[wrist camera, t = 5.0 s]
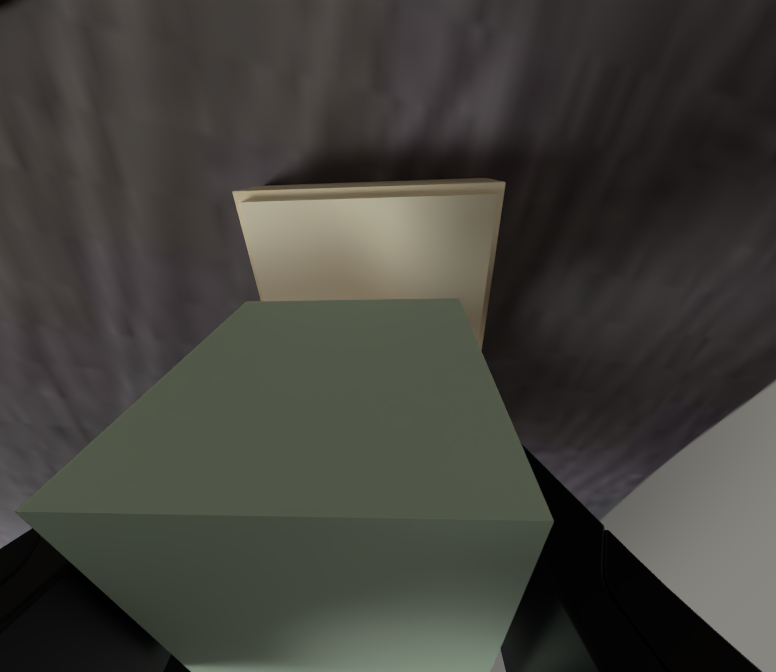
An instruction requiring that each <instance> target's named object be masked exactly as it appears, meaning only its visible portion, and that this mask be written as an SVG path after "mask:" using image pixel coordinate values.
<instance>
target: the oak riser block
mask: <svg viewBox="0 0 776 672" xmlns="http://www.w3.org/2000/svg"><path fill="white" fill-rule="evenodd" d="M505 184H506V182H503V181H498V180H494V179H489V178H469V179H441V180H412V181H383V182H354V183H325V184H297V185H268V186H258V187H253V188H248V189H242V190H237V191H232V192H233V196H234V200H235V204H236V207H237V211H238V215H239V219H240V223H241V226H242V230H243V234H244V238H245V242H246V246H247V249H248V253H249V257H250V261H251V265H252V268H253V272H254V276H255V280H256V284H257V288H258V291H259V295H260V299H261V301H317V300H380V299H443V298H459V300H460V302H461V305H462V307H463V309H464V312H465V314H466V316H467V319H468V321H469V323H470V326H471V328H472V330H473V333H474V335H475V337H476V340H477V342H478V344H479V347H480V349H481V351H482V344H483V337H484V330H485V323H486V316H487V309H488V302H489V295H490V288H491V281H492V274H493V267H494V260H495V253H496V246H497V239H498V232H499V225H500V219H501V212H502V205H503V198H504V191H505Z"/></svg>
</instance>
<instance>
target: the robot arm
mask: <svg viewBox="0 0 776 672" xmlns="http://www.w3.org/2000/svg"><path fill="white" fill-rule="evenodd" d="M521 445H522V444H521ZM522 447H523V450H524V452H525V454H526V457H527V459H528V461H529V464H530V466H531V468H532V471H533V473H534V475H535V478H536V480H537V483H538V485H539V487H540V490H541V492H542V494H543V497H544V499H545V501H546V504H547V506H548V508H549V511H550V513H551V515H552V518H553V520H554V522H553V525H552V527H551V530H550V532H549V534H548V537H547V539H546V541H545V544H544V546H543V549H542V551H541V553H540V556H539V558H538V560H537V563H536V565H535V568H534V570H533V572H532V575H531V577H530V579H529V582H528V584H527V586H526V589H525V591H524V594H523V596H522V598H521V601H520V603H519V605H518V608H517V610H516V613H515V615H514V617H513V620H512V622H511V624H510V627H509V629H508V632H507V634H506V636H505V639H504V641H503V643H502V646H501V652H502V657H503V661H504V665H505V669H506V672H762V671H761V670H760V669H758V668H757V667H756V666H755V665H754V664H753V663H751V662H750V661H749V660H748V659H747V658H746V657H745V656H744V655H742V654H741V653H740V652H739V651H738V650H737V649H736V648H734V647H733V646H732V645H731V644H730V643H729V642H728V641H727V640H725V639H724V638H723V637H722V636H721V635H719V633H717V632H716V631H715V630H714V629H713V628H712V627H711V626H710V625H708V624H707V623H706V622H705V621H704V620H703V619H702V618H701V617H700V616H698V615H697V614H696V613H695V612H694V611H693V610H692V609H691V608H690V607H689V606H687V605H686V604H685V603H684V602H683V601H682V600H681V599H680V598H679V597H678V596H676V595H675V594H674V593H673V592H672V591H671V590H670V589H669V588H667V587H666V586H665V585H664V584H663V583H662V582H661V581H660V580H659V579H658V578H657V577H656V576H655V575H654V574H653V573H652V572H651V571H650V570H649V569H648V568H647V567H646V566H644V564H643V563H641V562H640V561H639V560H638V559H637V558H636V557H635V556H634V555H633V554H632V553H631V552H630V551H629V550H628V549H627V548H626V547H625V546H624V545H623V544H622V543H621V542H620V541H619V540H618V539H617V538H616V537H615V536H614V535H613V534H612V533H611V532H610V531H609V530H605V528H604V526H603V524H602V523H601V522H600V521H599V520H598V519H597V518H596V517H595V516H594V515H593V514H592V513H591V512H590V511H589V510H588V509H587V508H586V507H585V506H584V505H583V504H582V503H581V502H580V501H579V500H578V499H577V498H576V497H575V496H574V495H573V494H572V493H570V492H569V491H568V490H567V489H566V488H565V487H564V486H563V485H562V484H561V483H560V482H559V481H558V480H557V479H556V478H555V477H554V476H553V475H552V474H551V473H550V472H549V471H548V470H547V469H546V468H545V467H544V466H543V465H542V464H541V463H540V462H539V461H538V460H537V459H536V458H535V457H534V456H533V455H532V454H531V453H530V452H529V451H528V450H527V449H526V448H525V447H524V446H523V445H522ZM0 672H191V671H190V670H189V669H187V668H186V667H185V666H184V665H183V664H182V663H181V662H180V661H179V660H178V659H176V658H175V657H174V656H173V655H172V654H171V653H170V652H169V651H168V650H167V649H165V648H164V647H163V646H162V645H161V644H160V643H159V642H158V641H157V640H156V639H154V638H153V637H152V636H151V635H150V634H149V633H148V632H147V631H146V630H145V629H143V628H142V627H141V626H140V625H139V624H138V623H137V622H136V621H135V620H133V619H132V618H131V617H130V616H129V615H128V614H127V613H126V612H125V611H124V610H122V609H121V608H120V607H119V606H118V605H117V604H116V603H115V602H114V601H113V600H111V599H110V598H109V597H108V596H107V595H106V594H105V593H104V592H103V591H102V590H100V589H99V588H98V587H97V586H96V585H95V584H94V583H93V582H92V581H91V580H89V579H88V578H87V577H86V576H85V575H84V574H83V573H82V572H81V571H79V570H78V569H77V568H76V567H75V566H74V565H73V564H72V563H71V562H70V561H68V560H67V559H66V558H65V557H64V556H63V555H62V554H61V553H60V552H59V551H57V550H56V549H55V548H54V547H53V546H52V545H51V544H50V543H49V542H48V541H46V540H45V539H44V538H43V537H42V536H41V535H40V534H39V533H38V532H36V531H35V530H34V529H33V528H32V529H30V530H29V531H27V532H26V533H24V534H23V535H21V536H20V537H18V538H17V539H15V540H13V541H12V542H10V543H9V544H7V545H6V546H4V547H2V548H1V549H0Z"/></svg>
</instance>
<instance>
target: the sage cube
mask: <svg viewBox="0 0 776 672" xmlns="http://www.w3.org/2000/svg"><path fill="white" fill-rule="evenodd" d="M15 512H16V513H17V514H18V515H19V516H20V517H21V518H22V519H23V520H24V521H25V522H27V523H28V524H29V525H30V526H31V527H32V528H33V529H34V530H35V531H36V532H38V533H39V534H40V535H41V536H42V537H43V538H44V539H45V540H46V541H48V542H49V543H50V544H51V545H52V546H53V547H54V548H55V549H56V550H57V551H59V552H60V553H61V554H62V555H63V556H64V557H65V558H66V559H67V560H68V561H70V562H71V563H72V564H73V565H74V566H75V567H76V568H77V569H78V570H79V571H81V572H82V573H83V574H84V575H85V576H86V577H87V578H88V579H89V580H91V581H92V582H93V583H94V584H95V585H96V586H97V587H98V588H99V589H100V590H102V591H103V592H104V593H105V594H106V595H107V596H108V597H109V598H110V599H111V600H113V601H114V602H115V603H116V604H117V605H118V606H119V607H120V608H121V609H122V610H124V611H125V612H126V613H127V614H128V615H129V616H130V617H131V618H132V619H133V620H135V621H136V622H137V623H138V624H139V625H140V626H141V627H142V628H143V629H145V630H146V631H147V632H148V633H149V634H150V635H151V636H152V637H153V638H154V639H156V640H157V641H158V642H159V643H160V644H161V645H162V646H163V647H164V648H165V649H167V650H168V651H169V652H170V653H171V654H172V655H173V656H174V657H175V658H176V659H178V660H179V661H180V662H181V663H182V664H183V665H184V666H185V667H186V668H187V669H189V670H190V671H191V672H490V671H491V669H492V667H493V664H494V662H495V660H496V657H497V655H498V653H499V650H500V648H501V646H502V643H503V641H504V639H505V636H506V634H507V632H508V629H509V627H510V624H511V622H512V620H513V617H514V615H515V613H516V610H517V608H518V605H519V603H520V601H521V598H522V596H523V594H524V591H525V589H526V586H527V584H528V582H529V579H530V577H531V575H532V572H533V570H534V568H535V565H536V563H537V560H538V558H539V556H540V553H541V551H542V549H543V546H544V544H545V541H546V539H547V537H548V534H549V532H550V530H551V527H552V525H553V522H554V520H553V518H552V515H551V513H550V511H549V508H548V506H547V504H546V501H545V499H544V497H543V494H542V492H541V490H540V487H539V485H538V483H537V480H536V478H535V475H534V473H533V471H532V468H531V466H530V464H529V461H528V459H527V457H526V454H525V452H524V450H523V447H522V445H521V443H520V440H519V438H518V436H517V433H516V431H515V429H514V426H513V424H512V422H511V419H510V417H509V415H508V412H507V410H506V408H505V405H504V403H503V401H502V398H501V396H500V394H499V391H498V389H497V387H496V384H495V382H494V380H493V377H492V375H491V373H490V370H489V368H488V366H487V363H486V361H485V358H484V356H483V354H482V351H481V349H480V347H479V344H478V342H477V340H476V337H475V335H474V333H473V330H472V328H471V326H470V323H469V321H468V319H467V316H466V314H465V312H464V309H463V307H462V305H461V302H460V300H459V298H443V299H380V300H317V301H253V302H245V303H244V304H243V305H242V306H241V307H240V308H239V309H237V310H236V311H235V312H234V313H233V314H232V315H231V316H230V317H229V318H228V319H226V320H225V321H224V322H223V323H222V324H221V325H220V326H219V327H218V328H217V329H215V330H214V331H213V332H212V333H211V334H210V335H209V336H208V337H207V338H206V339H204V340H203V341H202V342H201V343H200V344H199V345H198V346H197V347H196V348H194V349H193V350H192V351H191V352H190V353H189V354H188V355H187V356H186V357H185V358H183V359H182V360H181V361H180V362H179V363H178V364H177V365H176V366H175V367H174V368H172V369H171V370H170V371H169V372H168V373H167V374H166V375H165V376H164V377H163V378H161V379H160V380H159V381H158V382H157V383H156V384H155V385H154V386H153V387H151V388H150V389H149V390H148V391H147V392H146V393H145V394H144V395H143V396H142V397H140V398H139V399H138V400H137V401H136V402H135V403H134V404H133V405H132V406H131V407H129V408H128V409H127V410H126V411H125V412H124V413H123V414H122V415H121V416H120V417H118V418H117V419H116V420H115V421H114V422H113V423H112V424H111V425H110V426H109V427H107V428H106V429H105V430H104V431H103V432H102V433H101V434H100V435H99V436H97V437H96V438H95V439H94V440H93V441H92V442H91V443H90V444H89V445H88V446H86V447H85V448H84V449H83V450H82V451H81V452H80V453H79V454H78V455H77V456H75V457H74V458H73V459H72V460H71V461H70V462H69V463H68V464H67V465H66V466H64V467H63V468H62V469H61V470H60V471H59V472H58V473H57V474H56V475H54V476H53V477H52V478H51V479H50V480H49V481H48V482H47V483H46V484H45V485H43V486H42V487H41V488H40V489H39V490H38V491H37V492H36V493H35V494H34V495H32V496H31V497H30V498H29V499H28V500H27V501H26V502H25V503H24V504H23V505H21V506H20V507H19V508H18V509H17V510H16V511H15Z"/></svg>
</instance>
